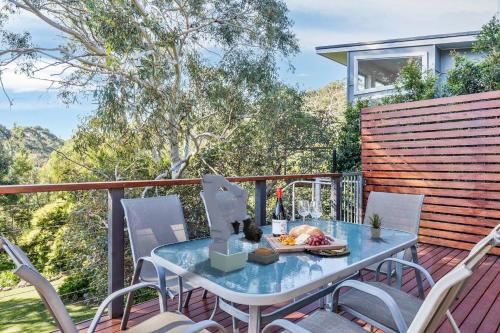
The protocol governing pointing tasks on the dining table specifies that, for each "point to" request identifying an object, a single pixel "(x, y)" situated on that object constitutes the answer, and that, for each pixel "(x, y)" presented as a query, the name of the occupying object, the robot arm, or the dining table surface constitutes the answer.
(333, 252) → the food plate
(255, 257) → the big crate
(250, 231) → the pine cone
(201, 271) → the dining table surface
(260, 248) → the small crate
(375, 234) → the house plant
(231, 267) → the l-shaped corner panel
